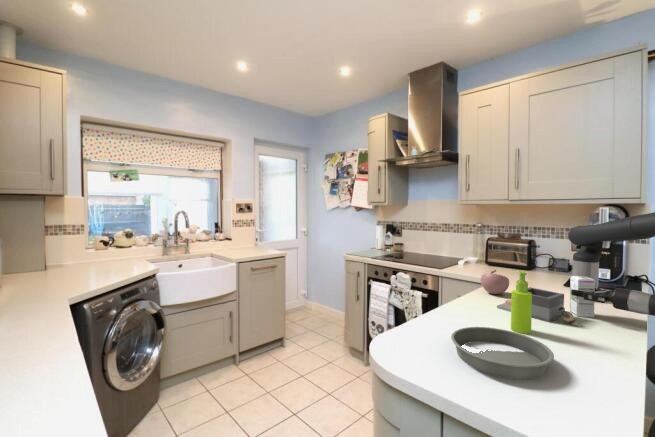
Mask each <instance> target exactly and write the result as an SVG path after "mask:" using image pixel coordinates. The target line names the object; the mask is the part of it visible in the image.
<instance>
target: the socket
mask: <svg viewBox="0 0 655 437" xmlns="http://www.w3.org/2000/svg"><path fill="white" fill-rule="evenodd" d="M528 292H531V293H532V318H531V319H535V320H540V321H543V322H545V323H550V322H553V321H556V320H558V319H560V318H562V317H561V314H562V313H561V312H559V311H558V308H560V307H563V308H565V293H561V292H556V291H551V290H546V289H542V288H535V287H529V286H528ZM504 301H505V302H504V303H500V304H497V305H496V308H497V309H499V310H504V311H507V312H510V313H511V299H509V298H508V299H506V300H504Z"/></svg>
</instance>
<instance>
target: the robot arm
mask: <svg viewBox="0 0 655 437" xmlns="http://www.w3.org/2000/svg"><path fill="white" fill-rule="evenodd" d="M654 237H655V212H649V213H645V214H637V215H632V216H627V217H623V218H619V219H614V220H609V221H606V222H603V223H598V224H597V223H596V224H588V225H576V226H574V227H572V228H571V229H570V230H569V232H568V235H567V238H568V241H569V242H571V243H572V244H573V245H575V246H578V247H580V249H579V250H578V251H577V252H575V253H573V255H572V275H571V276H584V277H588V278H591V279H593V280H595V291H591V292H587V291H580V290H574V289H573V290H572V295H574V296H579V297H584V300H589V301H594V303H601V304H605V303H612V307H613V308H614V309H616V310H621V311H624V312H630V313H635V314H641V315H647V316H648V315H649V316H653V317H655V294H653V293H649V292H645V291H640V290H634V289H627V288H622V287H621V288H620V287H616V288H614V289H608V288H603V287H599V278H600V276H599V275H600V273H599V272H600V258H601V257H602V254H603V247H604V242H630V241H638V240H639V241H640V240H646V239H651V238H654ZM588 295H591V297H588Z"/></svg>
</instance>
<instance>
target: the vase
mask: <svg viewBox="0 0 655 437" xmlns="http://www.w3.org/2000/svg"><path fill="white" fill-rule="evenodd" d="M558 311H559V312H561V313H562V314H561V317H560V318H561V319H562V320H564V321H565V322H566V323H567V322H568V324H569V325H571V326H573V327H578V328H579V327H580V325H579V324H578V323H577V321H576V319H574V318H575V317H574V315H573V313H572V312H570V311H567V310H566V308H565V307H564V308H563V307H560V308H558Z"/></svg>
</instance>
